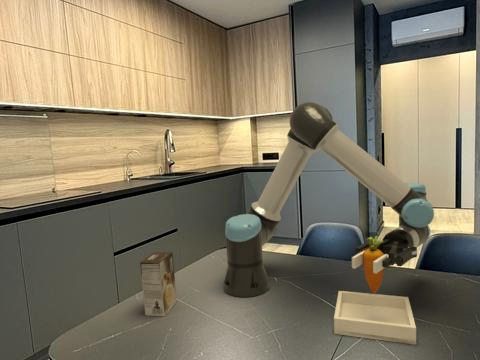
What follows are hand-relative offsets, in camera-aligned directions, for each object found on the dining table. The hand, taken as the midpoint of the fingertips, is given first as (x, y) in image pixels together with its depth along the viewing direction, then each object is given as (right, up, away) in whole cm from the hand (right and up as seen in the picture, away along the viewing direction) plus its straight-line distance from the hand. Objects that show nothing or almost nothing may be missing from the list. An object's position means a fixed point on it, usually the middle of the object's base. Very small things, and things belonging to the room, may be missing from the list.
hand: (363, 265), depth 83 cm
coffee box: (-53, -18, +19) cm, 60 cm away
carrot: (+4, -8, +5) cm, 11 cm away
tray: (+4, -16, +6) cm, 18 cm away
